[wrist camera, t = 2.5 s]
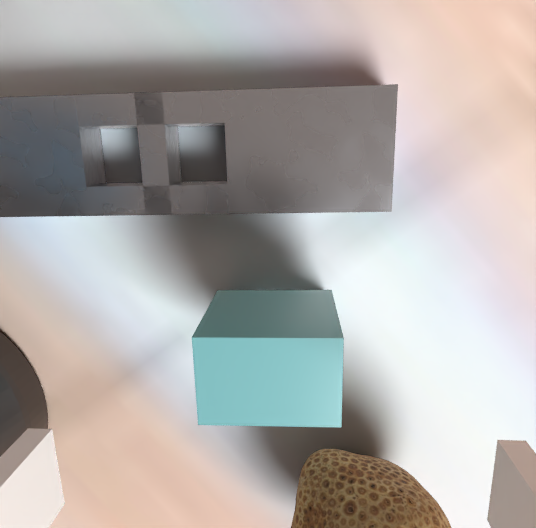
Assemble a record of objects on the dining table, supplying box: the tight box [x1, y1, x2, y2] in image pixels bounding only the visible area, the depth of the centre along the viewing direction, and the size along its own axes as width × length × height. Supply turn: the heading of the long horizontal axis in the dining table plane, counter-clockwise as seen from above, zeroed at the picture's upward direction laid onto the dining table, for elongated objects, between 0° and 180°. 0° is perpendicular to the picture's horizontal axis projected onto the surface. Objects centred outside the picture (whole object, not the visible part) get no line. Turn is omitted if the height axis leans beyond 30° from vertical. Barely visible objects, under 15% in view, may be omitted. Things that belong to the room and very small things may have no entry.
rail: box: [0, 84, 398, 217], centre depth 23 cm, size 24×6×2 cm, turn 91°
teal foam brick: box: [192, 290, 344, 427], centre depth 22 cm, size 6×4×9 cm, turn 91°
